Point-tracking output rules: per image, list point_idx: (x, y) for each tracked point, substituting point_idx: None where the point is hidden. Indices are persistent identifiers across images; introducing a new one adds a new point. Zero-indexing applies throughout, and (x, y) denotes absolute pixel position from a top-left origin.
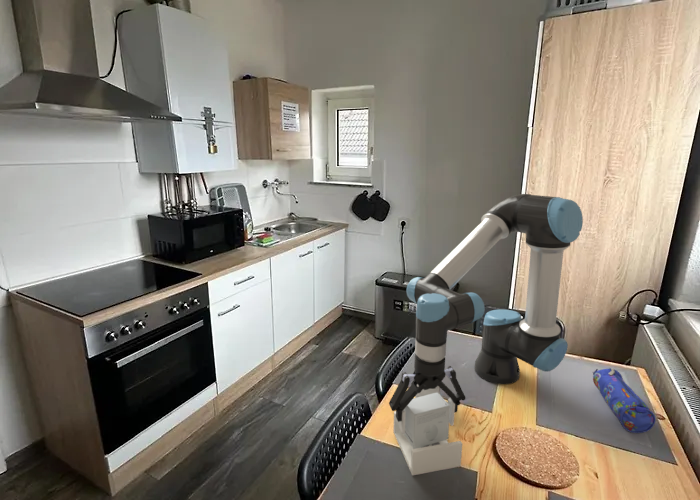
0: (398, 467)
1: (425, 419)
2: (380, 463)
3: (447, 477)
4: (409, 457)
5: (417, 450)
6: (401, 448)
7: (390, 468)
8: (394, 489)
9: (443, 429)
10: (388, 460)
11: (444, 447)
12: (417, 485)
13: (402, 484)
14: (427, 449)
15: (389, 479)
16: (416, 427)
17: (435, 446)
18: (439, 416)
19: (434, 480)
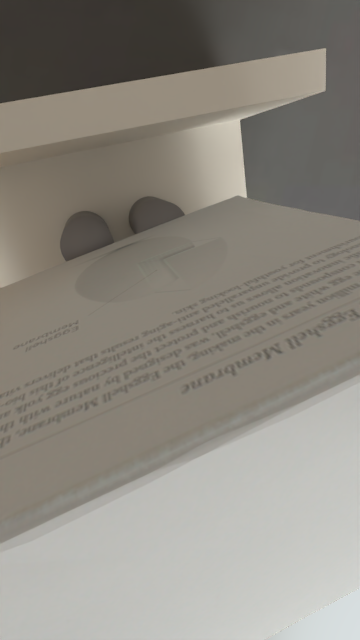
0: (280, 159)
1: (278, 291)
2: (347, 186)
3: (27, 64)
4: None
5: (287, 69)
6: None
7: (315, 154)
8: (333, 4)
9: (19, 310)
10: (311, 204)
11: (27, 100)
12: (215, 18)
13: (288, 37)
14: (200, 75)
15: (337, 80)
16: (336, 227)
17: (119, 112)
18: (58, 377)
19: (112, 47)
